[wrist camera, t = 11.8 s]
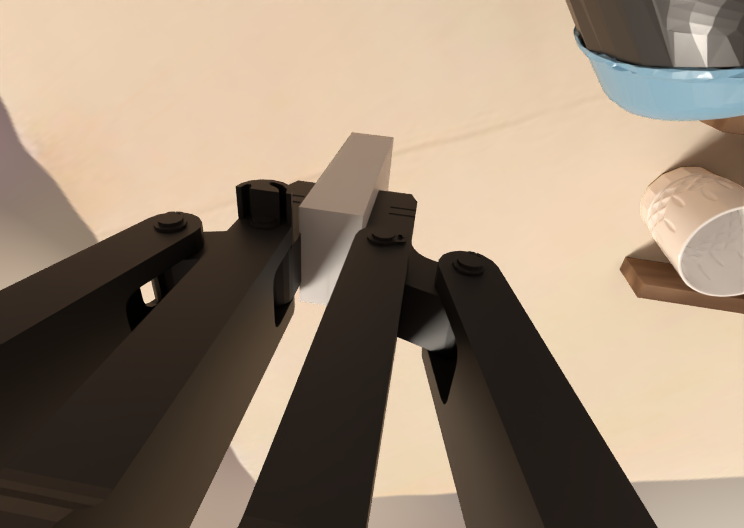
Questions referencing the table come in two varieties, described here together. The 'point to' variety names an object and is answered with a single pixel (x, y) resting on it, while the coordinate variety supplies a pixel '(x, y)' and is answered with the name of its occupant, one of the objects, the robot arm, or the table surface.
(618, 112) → the table surface
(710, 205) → the white cup
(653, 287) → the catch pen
